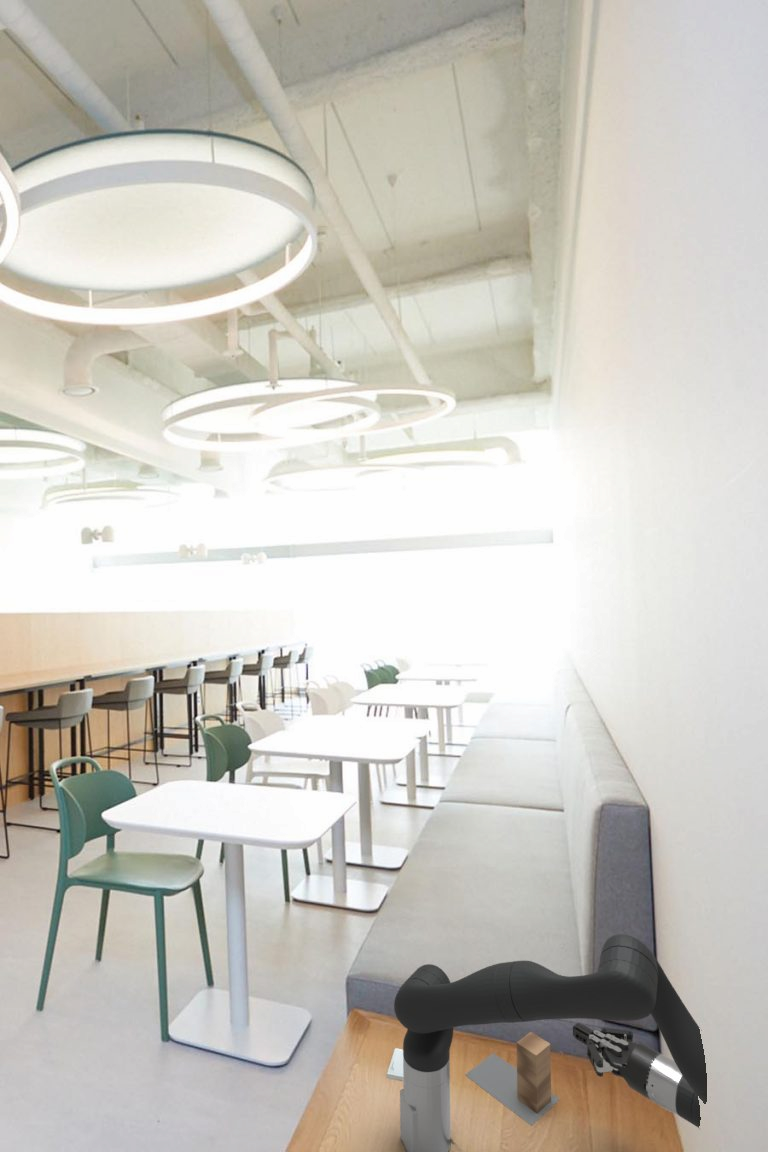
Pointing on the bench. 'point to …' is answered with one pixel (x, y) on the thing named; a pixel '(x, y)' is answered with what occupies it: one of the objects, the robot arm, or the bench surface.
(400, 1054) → the hard drive
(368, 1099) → the bench surface
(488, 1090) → the rubber mat
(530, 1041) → the light brown wooden block
